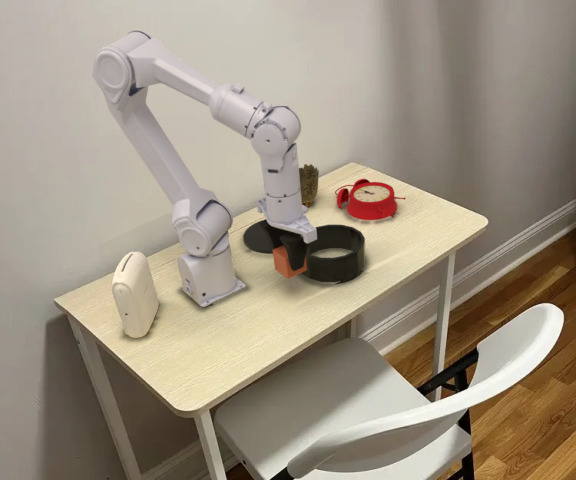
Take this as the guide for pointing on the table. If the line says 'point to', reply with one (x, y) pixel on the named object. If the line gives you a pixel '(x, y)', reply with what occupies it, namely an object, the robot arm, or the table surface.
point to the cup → (308, 184)
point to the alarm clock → (368, 200)
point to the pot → (338, 266)
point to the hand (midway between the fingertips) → (290, 263)
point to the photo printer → (135, 294)
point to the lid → (257, 239)
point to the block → (285, 263)
